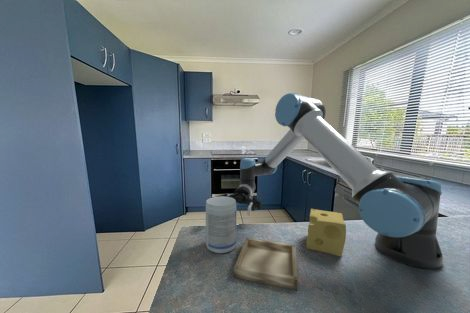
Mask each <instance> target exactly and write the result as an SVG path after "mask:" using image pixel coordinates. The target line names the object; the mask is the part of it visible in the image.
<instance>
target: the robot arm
mask: <svg viewBox="0 0 470 313" xmlns="http://www.w3.org/2000/svg"><path fill="white" fill-rule="evenodd" d="M326 111H327V110H326V108H325V105H324V103H323V101H321V100H320V99H318V98H316V97H310V96H307V95H306V96H305V95H303V94H298V93H296V92H294V93H291V92H290V93H285V94H284V95H282V96H281V97H280V99H279V100H278V102H277V104H276V106H275V111H274V112H275V114H274V116H275V117H274V118H275V120H276V122H277V124H279V125H280V126H283V127H288V128H289V130H288V131H286V132H287V133H285V135H284V136H283V137H282V138H281V139H280V140H279V141H278V143H277V144H276V145H275V146H274V147H273V148H272V149H271V150H270V152H269V153H268V154H267V156H266V157H265V158H264V159H263V160H261V161H256V159H255V158H249V157H248V158H245V157H244V158H241V159H240V164H239V165H240V166H239V168H240V169H239V173H240V175H239V177H240V178H239V186H238V187H237V188H236V189H235V190H234V191H233V193H232V194H231V193H230V194H229V192H226V193H223V194H220V195H217V196H215V197H220V196H224V197H231V198H234V199H235V200H236V204H240V205H247V206H248V207H247V216H251V214H252V212H253V211H255V210H256V209H259V210H261V208H262V201H260V200H259V199H258V198H257V197H256V195H253V194H255V191H256V183H255V180H256V178H255V177H259V176H266V175H267V176H269V175H272V174H275V173H276V172H277V169H278V166H279V165H280V163H282V162H283V160H284V159H286V157H288V156H289V155H290V154H291V152H293V151H294V150H295V148H297V147H298V145H300V143H302V142H303V141H304V139H305V140H306V141H307V142H308V144H310V145H311V146H312V148H313V149H314V150H315V151H316V152H317V153H318V154H319V155H320V156H321V157H322V159H323V160H325V162H326V163H327V164H328V165H329V166H330V167H331V168H332V169H333V170H334V171H335V173H337V175H338V176H339V177H340V178H341V179H342V180H343V181H344V182H345V184H347V186H349V188H351V193H352V194H351V198H352V199H353V200H354V201H355V203H357V205H358V208H359V209H358V213H359V215H360V218H361V219H362V221H363V222H364V224H366V226H367V227H369V228H370V229H371V230H373V231H374V232H376V233H377V234H376V235H375V239H374V241H375V242H374V246H375V248H376V249H377V250H378V251H379V252H381V253H382V254H384V255H385V256H387V257H388V258H390V259H393V261H397V262H399V263H402V264H405V265H409V266H411V267H416V268H420V269H427V270H428V269H430V270H434V269H436V270H437V269H440V268H441V267H442V266H443V260H444V257H443V253H442V250H441V246H440V244H439V241H438V238H437V228H438V220H439V212H440V211H439V210H440V203H441V196H442V194H443V192H442V184H441V183H440V182H438V181H436V180H430V179H429V180H428V179H423V178H413V177H406V176H400V175H399V176H398V175H395V174H393V173H392V172H391V171H389V170H388V171H387V170H381V169H379V168H377V166H375V164H373V163H372V162H371V161H370V160H369V159H367V157H366V156H364V155H363V154H362V153H361V151H359V150H358V149H357V148H356V147H354V145H352V144H351V143H350V142H349V141H348V140H347V139H346V138H345V137H343V136H342V135H341V134H340V133H339V132H338V131H337V130H336V129H335V128H333V126H332V125H331V124H330V123H328V122H327V121H326V120H325V117H326Z"/></svg>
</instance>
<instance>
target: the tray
mask: <svg viewBox="0 0 470 313" xmlns="http://www.w3.org/2000/svg"><path fill="white" fill-rule="evenodd" d="M297 264H298V263H297V252H296V245H295V244H290V243H284V242H277V241H270V240H264V239H257V238H250V237H245V240H244V242H243V245H242V248H241V250H240V252H239V254H238V257H237V259H236V262H235V265H234V267H233V278H235V279H239V280H244V281H245V280H246V281H250V282H256V283H260V284H265V285H269V286H275V287H279V288H284V289H288V290H289V289H290V290H294V291H298V286H299V284H298V283H299V278H298V266H297Z"/></svg>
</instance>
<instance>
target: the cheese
mask: <svg viewBox="0 0 470 313" xmlns="http://www.w3.org/2000/svg"><path fill="white" fill-rule="evenodd" d="M308 222H309V223H308V228H307V237H306V242H305V244H306V245H305V246H306V249H308V250H312V251H317V252H322V253H326V254H330V255H333V256H338V257H343V251H344V248H345V243H346V238H347V236H346V235H347V226H346V222H345V221H344V217H343V213H341V212H335V211H328V210H321V209H315V208H310V212H309V221H308Z"/></svg>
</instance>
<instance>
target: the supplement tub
mask: <svg viewBox="0 0 470 313" xmlns="http://www.w3.org/2000/svg"><path fill="white" fill-rule="evenodd" d="M205 243H206V245H205V246H206V248H207V250H209V251H210V252H213V253H215V254H227V253H229V252H231V251H233V250H234V249H235V248H236V245H237V203H236V200H235V199H234V198H231V197H224V196H220V197H216V196H212V197H210V198H208V199H206V201H205Z"/></svg>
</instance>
